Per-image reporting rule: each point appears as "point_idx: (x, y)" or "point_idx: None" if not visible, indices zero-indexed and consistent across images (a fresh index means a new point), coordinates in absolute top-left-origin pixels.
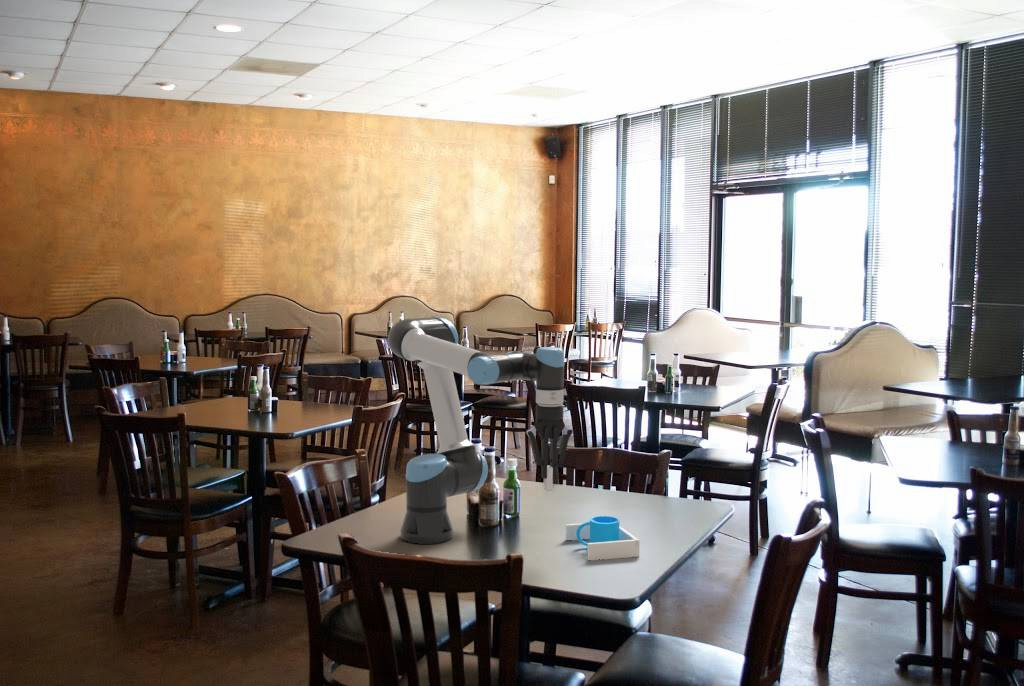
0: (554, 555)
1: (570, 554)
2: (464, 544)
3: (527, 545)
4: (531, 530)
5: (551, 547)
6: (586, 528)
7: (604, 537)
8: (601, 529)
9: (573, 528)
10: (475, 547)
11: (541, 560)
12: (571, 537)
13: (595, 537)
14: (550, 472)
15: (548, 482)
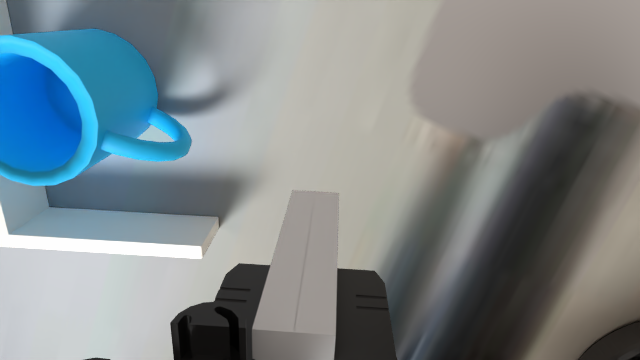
0: (319, 62)
1: (253, 55)
2: (577, 284)
3: (372, 210)
4: None
5: (296, 162)
6: (124, 232)
7: (77, 38)
8: (69, 48)
9: (176, 236)
10: (559, 243)
11: (394, 13)
12: (196, 221)
13: (118, 68)
14: (297, 285)
15: (327, 225)
